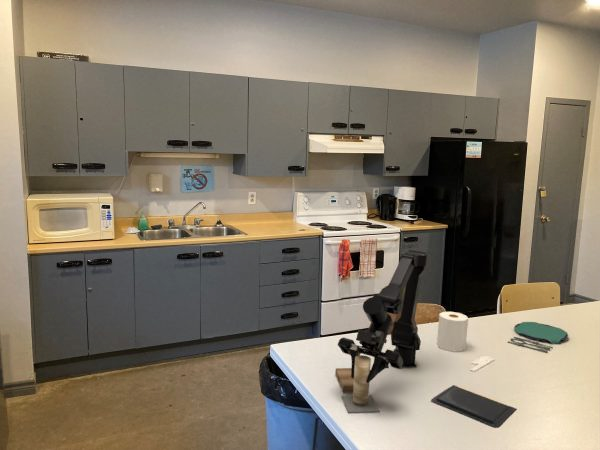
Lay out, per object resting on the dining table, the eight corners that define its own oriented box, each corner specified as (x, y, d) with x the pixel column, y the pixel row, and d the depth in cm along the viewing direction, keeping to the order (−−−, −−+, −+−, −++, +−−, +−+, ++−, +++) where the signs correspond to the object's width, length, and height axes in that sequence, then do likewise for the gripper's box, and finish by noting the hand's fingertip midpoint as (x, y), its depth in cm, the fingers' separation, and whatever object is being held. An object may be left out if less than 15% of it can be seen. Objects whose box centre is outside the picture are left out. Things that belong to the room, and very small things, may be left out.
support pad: (371, 396, 143) (371, 394, 143) (379, 412, 134) (380, 410, 134) (341, 396, 142) (341, 395, 142) (348, 413, 133) (348, 411, 133)
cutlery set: (573, 335, 200) (574, 330, 199) (551, 357, 178) (552, 351, 178) (523, 323, 213) (523, 318, 213) (497, 342, 191) (497, 336, 191)
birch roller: (368, 397, 140) (371, 356, 138) (367, 405, 135) (370, 362, 133) (353, 395, 140) (355, 354, 139) (351, 402, 136) (354, 360, 134)
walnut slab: (335, 374, 156) (335, 368, 156) (356, 373, 157) (356, 368, 157) (343, 392, 144) (343, 386, 144) (365, 392, 145) (366, 385, 145)
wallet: (429, 396, 141) (454, 380, 152) (428, 402, 142) (453, 386, 152) (496, 425, 127) (519, 405, 138) (496, 432, 128) (518, 412, 138)
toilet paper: (462, 354, 176) (465, 322, 174) (433, 347, 181) (436, 316, 179) (467, 345, 185) (470, 314, 183) (440, 339, 190) (442, 309, 188)
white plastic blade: (460, 368, 165) (460, 365, 165) (481, 356, 175) (481, 354, 175) (474, 373, 162) (474, 370, 161) (494, 361, 172) (495, 358, 172)
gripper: (342, 311, 143) (321, 359, 135) (402, 325, 133) (383, 378, 125) (352, 328, 150) (333, 375, 143) (410, 343, 140) (393, 394, 133)
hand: (359, 380), depth 136 cm, fingers closed on birch roller, 4 cm apart
